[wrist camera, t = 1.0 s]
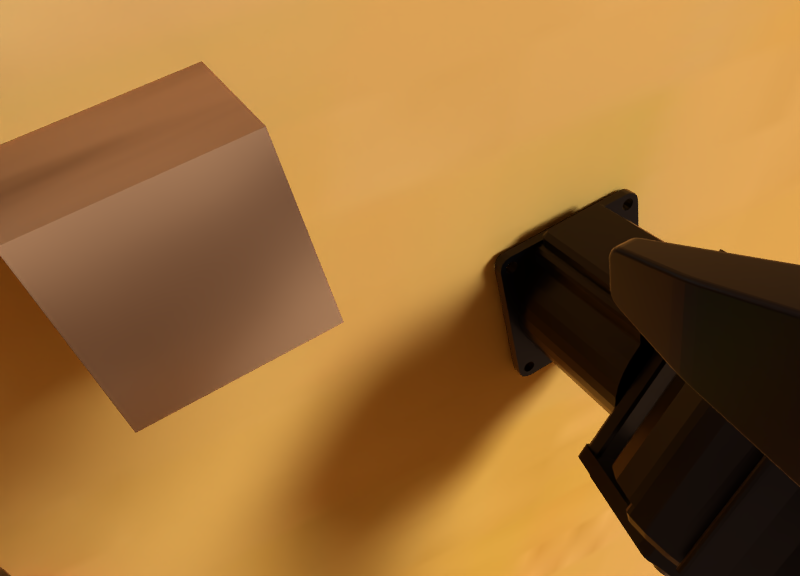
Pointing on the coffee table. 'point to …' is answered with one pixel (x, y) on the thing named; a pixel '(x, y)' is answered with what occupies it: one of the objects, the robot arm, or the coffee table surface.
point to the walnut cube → (163, 242)
